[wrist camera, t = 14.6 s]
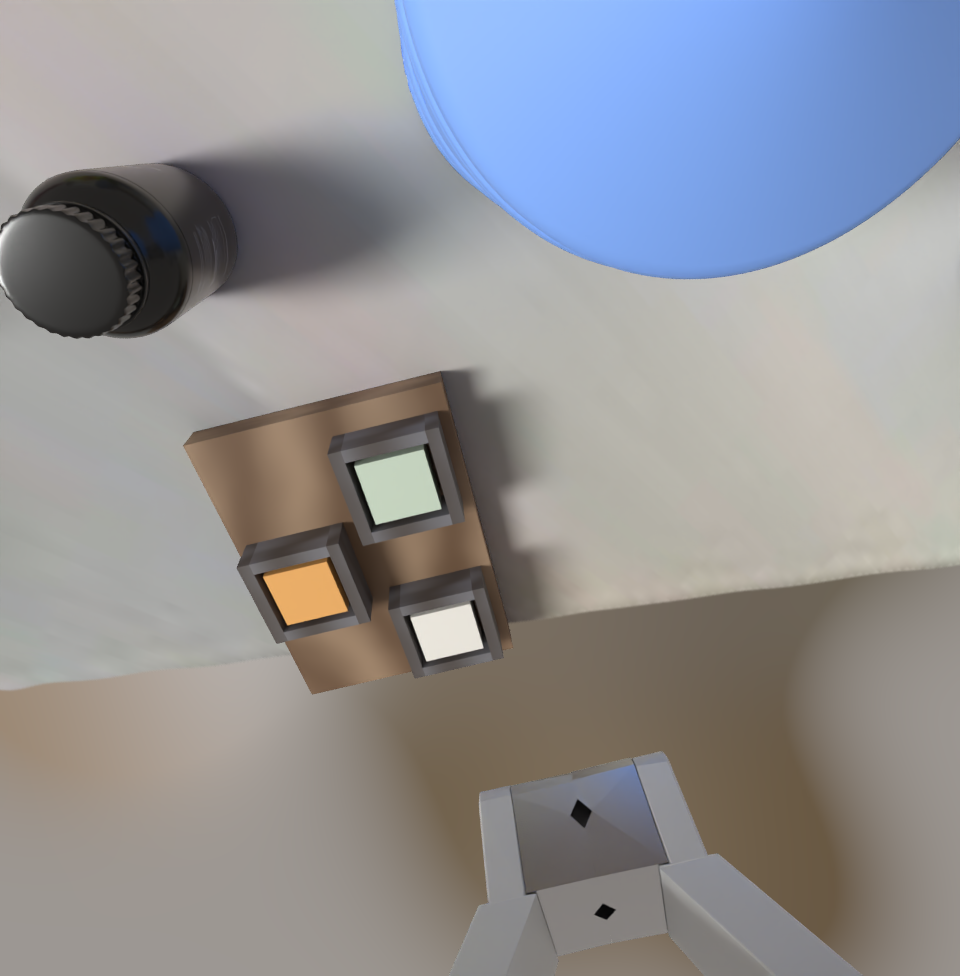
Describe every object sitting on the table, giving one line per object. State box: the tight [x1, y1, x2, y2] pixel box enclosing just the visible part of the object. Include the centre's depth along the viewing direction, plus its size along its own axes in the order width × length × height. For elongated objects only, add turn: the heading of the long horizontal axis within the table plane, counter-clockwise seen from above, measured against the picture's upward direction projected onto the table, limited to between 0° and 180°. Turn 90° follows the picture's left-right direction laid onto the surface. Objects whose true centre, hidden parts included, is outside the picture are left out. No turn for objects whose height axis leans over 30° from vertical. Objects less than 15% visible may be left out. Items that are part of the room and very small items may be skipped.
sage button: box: [354, 444, 442, 525], centre depth 38 cm, size 4×4×2 cm
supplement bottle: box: [0, 164, 237, 339], centre depth 28 cm, size 7×7×12 cm
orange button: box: [263, 557, 349, 625], centre depth 41 cm, size 4×4×2 cm
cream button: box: [410, 600, 484, 661], centre depth 44 cm, size 4×4×2 cm
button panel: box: [183, 371, 513, 694], centre depth 42 cm, size 16×22×4 cm
